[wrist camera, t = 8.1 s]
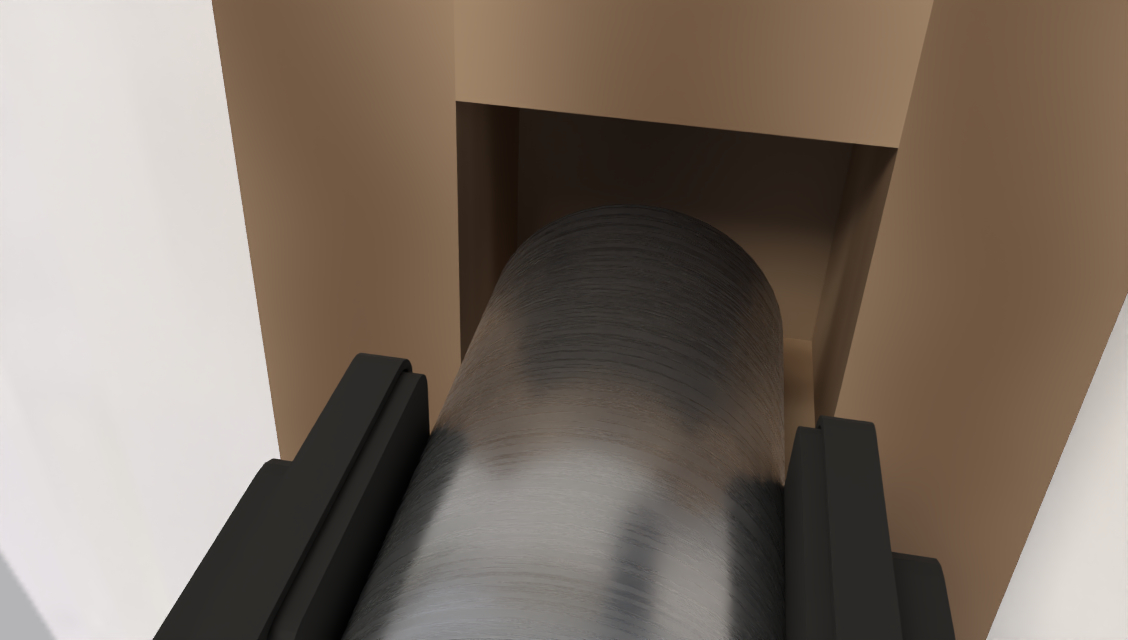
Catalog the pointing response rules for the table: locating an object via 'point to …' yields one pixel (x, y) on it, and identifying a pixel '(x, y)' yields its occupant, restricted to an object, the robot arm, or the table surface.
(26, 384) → the table surface
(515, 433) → the pin
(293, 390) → the socket block
